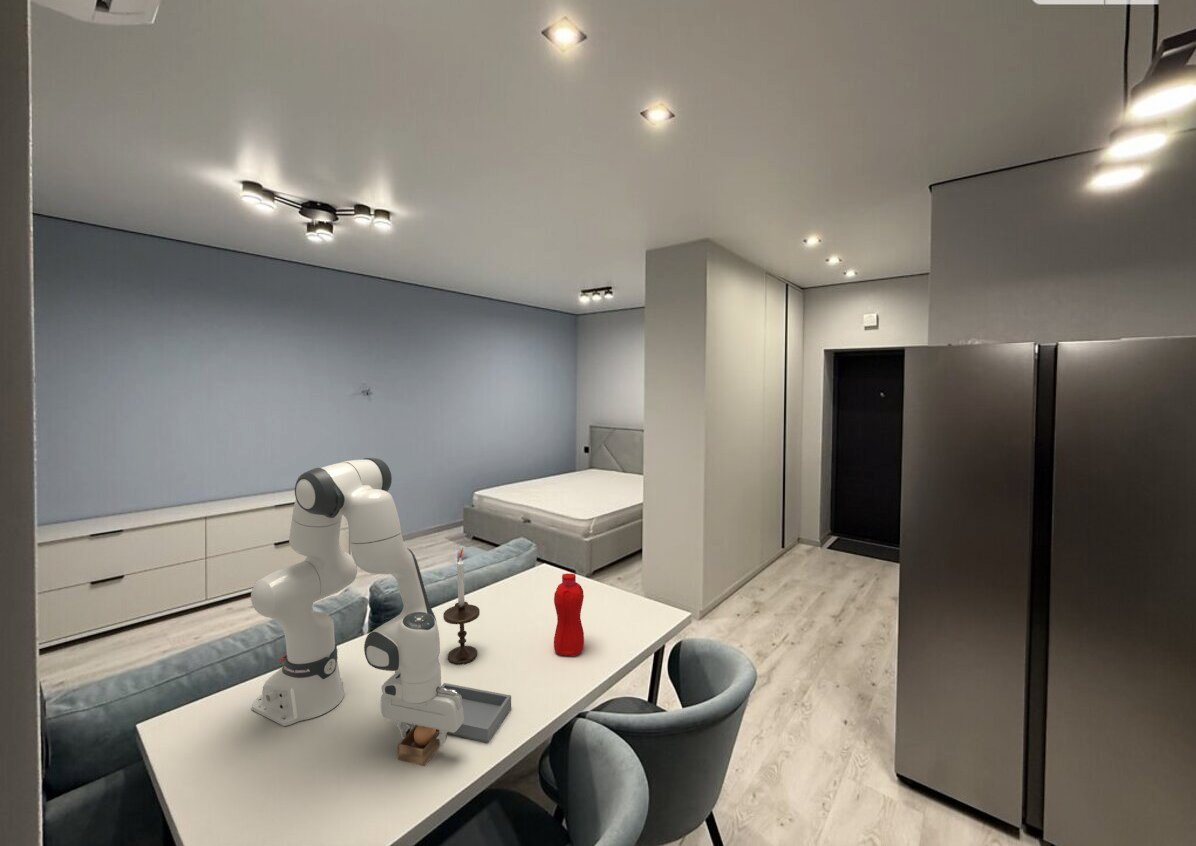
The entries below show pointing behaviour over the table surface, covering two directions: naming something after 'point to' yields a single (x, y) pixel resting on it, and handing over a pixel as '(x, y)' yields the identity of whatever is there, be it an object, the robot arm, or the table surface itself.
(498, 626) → the table surface
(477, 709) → the tray
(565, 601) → the water bottle
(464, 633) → the candlestick
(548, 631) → the table surface
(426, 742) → the ball
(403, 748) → the small wooden box
